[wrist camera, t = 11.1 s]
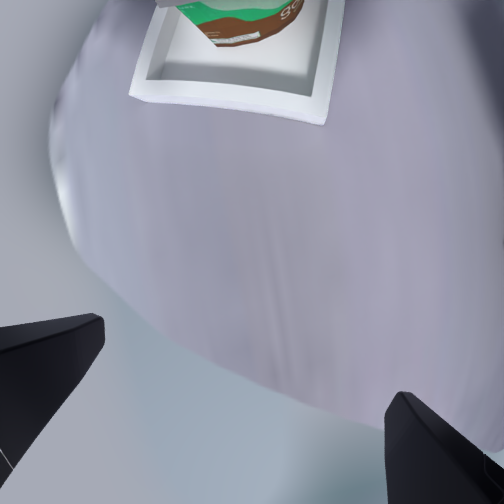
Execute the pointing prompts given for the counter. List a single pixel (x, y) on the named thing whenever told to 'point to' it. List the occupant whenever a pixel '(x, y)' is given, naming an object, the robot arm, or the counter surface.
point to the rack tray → (243, 65)
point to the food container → (237, 18)
